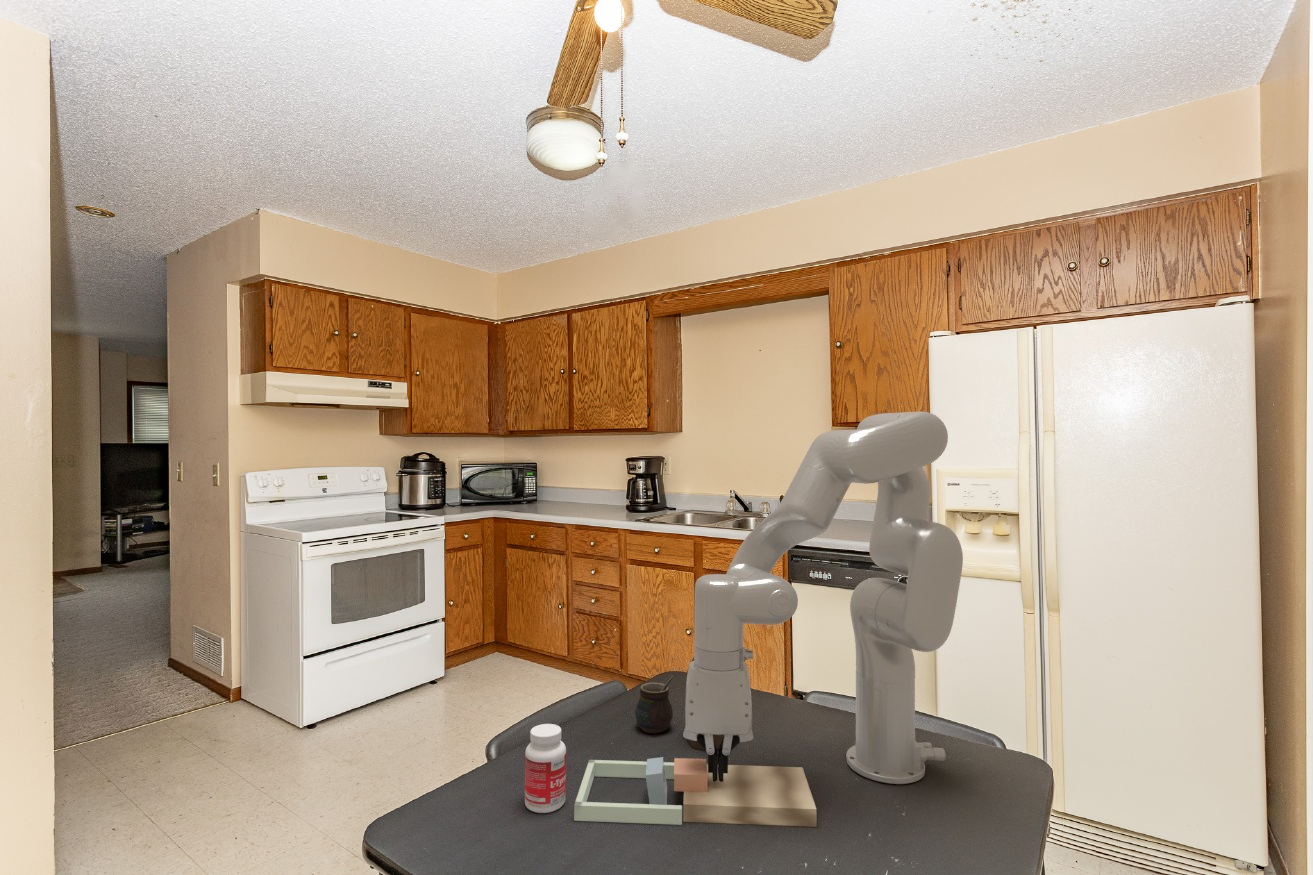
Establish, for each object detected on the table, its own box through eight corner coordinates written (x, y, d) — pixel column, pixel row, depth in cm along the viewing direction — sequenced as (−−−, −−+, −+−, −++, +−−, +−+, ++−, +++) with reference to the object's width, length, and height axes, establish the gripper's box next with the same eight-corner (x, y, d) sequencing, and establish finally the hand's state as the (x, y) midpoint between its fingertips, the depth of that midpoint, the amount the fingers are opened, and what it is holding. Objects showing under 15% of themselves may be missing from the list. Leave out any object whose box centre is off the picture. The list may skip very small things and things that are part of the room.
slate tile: (663, 756, 102) (647, 758, 102) (662, 773, 97) (645, 775, 97) (667, 788, 102) (651, 790, 102) (666, 806, 97) (650, 808, 97)
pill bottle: (554, 817, 94) (554, 741, 94) (517, 810, 96) (517, 735, 96) (572, 795, 100) (573, 724, 100) (537, 789, 102) (537, 718, 102)
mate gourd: (628, 725, 125) (629, 673, 125) (662, 718, 129) (663, 667, 129) (645, 740, 119) (646, 685, 119) (680, 732, 122) (681, 679, 123)
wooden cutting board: (802, 782, 104) (802, 767, 104) (816, 826, 92) (816, 809, 92) (684, 778, 105) (684, 763, 105) (683, 821, 93) (683, 804, 93)
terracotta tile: (706, 774, 101) (706, 758, 101) (707, 791, 96) (707, 774, 96) (674, 774, 102) (674, 758, 102) (674, 791, 97) (674, 774, 97)
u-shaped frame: (683, 776, 106) (683, 762, 106) (681, 824, 92) (681, 809, 92) (589, 772, 107) (589, 759, 107) (574, 820, 93) (574, 805, 93)
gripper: (764, 650, 102) (764, 766, 102) (670, 648, 103) (669, 763, 103) (770, 666, 95) (769, 792, 95) (669, 663, 96) (668, 788, 95)
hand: (717, 776), depth 99 cm, fingers closed
